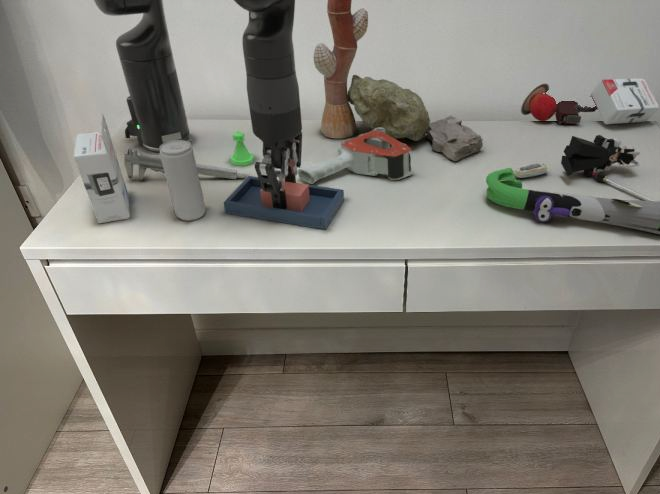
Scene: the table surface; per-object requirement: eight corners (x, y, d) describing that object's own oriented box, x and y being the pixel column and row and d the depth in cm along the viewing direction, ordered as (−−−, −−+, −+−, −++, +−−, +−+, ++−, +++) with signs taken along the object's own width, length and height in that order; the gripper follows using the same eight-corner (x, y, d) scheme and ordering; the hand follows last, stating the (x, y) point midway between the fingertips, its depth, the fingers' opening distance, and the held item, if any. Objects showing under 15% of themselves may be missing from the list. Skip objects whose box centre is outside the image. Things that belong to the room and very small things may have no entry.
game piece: (258, 158, 107) (254, 129, 103) (244, 167, 104) (239, 137, 100) (241, 153, 108) (236, 124, 104) (226, 162, 105) (221, 132, 102)
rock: (404, 66, 121) (339, 83, 120) (423, 52, 103) (346, 71, 102) (420, 137, 126) (356, 153, 124) (441, 135, 107) (367, 154, 106)
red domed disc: (550, 91, 126) (570, 108, 123) (524, 118, 128) (543, 135, 125) (542, 75, 119) (563, 93, 116) (515, 104, 121) (535, 122, 118)
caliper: (129, 181, 99) (119, 148, 95) (130, 178, 100) (121, 146, 96) (244, 179, 100) (238, 147, 96) (244, 176, 101) (239, 144, 97)
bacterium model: (504, 179, 98) (488, 169, 102) (503, 188, 99) (487, 178, 103) (557, 167, 102) (540, 158, 105) (556, 176, 103) (539, 167, 106)
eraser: (301, 212, 91) (300, 196, 89) (262, 206, 92) (259, 190, 90) (310, 200, 94) (308, 184, 92) (271, 194, 95) (269, 179, 93)
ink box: (603, 78, 119) (645, 77, 123) (589, 94, 123) (630, 92, 127) (618, 109, 116) (661, 108, 120) (604, 125, 120) (645, 122, 124)
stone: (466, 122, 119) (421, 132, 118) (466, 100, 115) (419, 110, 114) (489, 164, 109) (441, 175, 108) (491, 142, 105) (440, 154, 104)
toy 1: (669, 243, 87) (479, 217, 92) (660, 207, 95) (486, 185, 100) (683, 211, 83) (483, 185, 88) (672, 175, 91) (490, 154, 96)
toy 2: (627, 177, 85) (704, 175, 89) (562, 129, 100) (631, 129, 104) (610, 220, 90) (684, 216, 94) (550, 168, 105) (617, 167, 109)
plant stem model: (317, 138, 114) (307, -26, 95) (319, 124, 119) (309, -34, 100) (368, 138, 114) (368, -26, 95) (367, 124, 120) (367, -33, 101)
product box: (98, 198, 94) (68, 115, 85) (129, 194, 96) (103, 111, 86) (97, 224, 88) (65, 137, 79) (130, 219, 89) (102, 132, 80)
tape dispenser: (296, 192, 100) (405, 198, 96) (291, 166, 96) (404, 172, 93) (323, 146, 113) (420, 150, 109) (320, 122, 109) (419, 125, 106)
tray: (225, 213, 91) (223, 202, 90) (250, 186, 98) (248, 175, 97) (325, 229, 88) (325, 218, 87) (344, 200, 95) (343, 189, 94)
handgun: (664, 129, 123) (639, 103, 134) (669, 117, 121) (643, 91, 132) (557, 126, 121) (540, 99, 133) (560, 113, 120) (543, 87, 131)
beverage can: (179, 207, 93) (162, 139, 85) (208, 206, 93) (194, 139, 85) (173, 222, 89) (155, 153, 81) (203, 221, 89) (188, 152, 82)
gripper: (279, 123, 76) (290, 228, 87) (314, 88, 87) (320, 185, 98) (229, 117, 77) (246, 221, 88) (270, 83, 88) (281, 179, 99)
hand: (285, 201), depth 93 cm, fingers closed on eraser, 4 cm apart
